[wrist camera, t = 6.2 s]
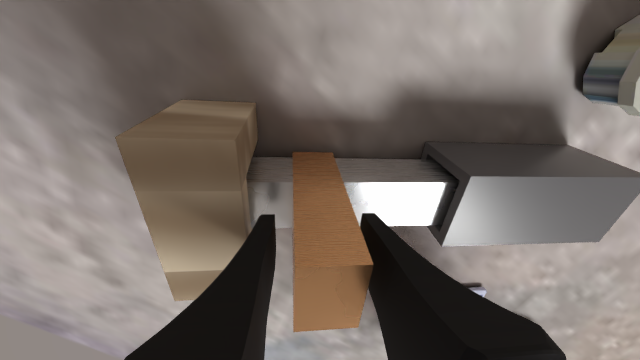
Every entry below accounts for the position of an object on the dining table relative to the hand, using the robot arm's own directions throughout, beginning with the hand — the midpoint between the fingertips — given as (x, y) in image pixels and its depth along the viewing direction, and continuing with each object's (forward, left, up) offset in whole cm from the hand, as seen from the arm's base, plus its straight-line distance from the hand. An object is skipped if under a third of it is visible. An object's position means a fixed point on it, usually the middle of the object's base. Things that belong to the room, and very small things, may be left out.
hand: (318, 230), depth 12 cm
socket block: (0, +5, -6) cm, 8 cm away
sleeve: (0, -13, -6) cm, 14 cm away
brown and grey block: (0, -3, -6) cm, 6 cm away
